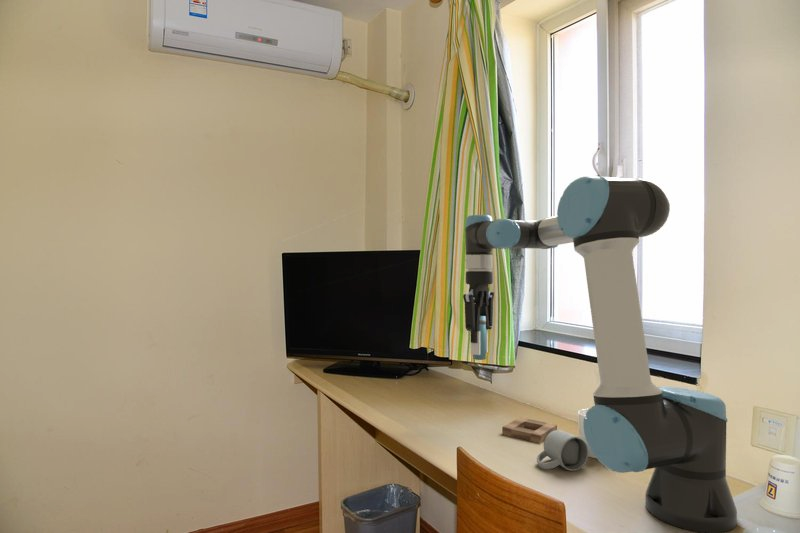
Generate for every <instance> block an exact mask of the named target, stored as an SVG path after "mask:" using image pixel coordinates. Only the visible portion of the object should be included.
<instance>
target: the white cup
mask: <svg viewBox="0 0 800 533" xmlns="http://www.w3.org/2000/svg"><path fill="white" fill-rule="evenodd" d="M589 409H590V408H582V409H580V410H578V411H577V416H578V417H577V419H578V420H577V421H578V422H577V423H578V437H580V438H582V439H583V440H584V441H585V442H586V444H587V447H588V458H593V459H597V457H596V456H595V455H594V454H593V453H592V451H591V449H590V448H589V445H588V443H587V441H586V438H585V434H584V428H583V422H584V417H585V416H586V412H587V411H588V410H589Z"/></svg>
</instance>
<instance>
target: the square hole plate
mask: <svg viewBox="0 0 800 533" xmlns="http://www.w3.org/2000/svg"><path fill="white" fill-rule="evenodd" d="M555 430H558V425H557V424H555V423H550V422H545V421H540V420H536V419H530V418H526V417H521V416H519V417H518V418H516V419H515V420H512V421H511V422H508V423H507V424H505V425H503V426H502V430H501V431H502V432H501V433H502V436H503V435H504V436H508V437H512V438H517V439H521V440H525V441H531V442H534V443H537V444H541V443H542V442H543V443H544V440H545V438H546V436H547V435H548V434H549V433H550V432H552V431H555Z"/></svg>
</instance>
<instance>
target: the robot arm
mask: <svg viewBox="0 0 800 533" xmlns="http://www.w3.org/2000/svg"><path fill="white" fill-rule="evenodd" d="M670 205H671V204H670V200H669V197H668V195H667V194H666V192H665V190H664V189H663V188H661V186H660V185H658V184H657V183H655V182H653V181H651V180H647V179H643V178H626V177H613V176H611V177H610V176H603V175H594V176H582V177H578V178H576V179H574V180H573V181H571V183H569V184H568V186H566V187H565V189H564V191H563V193H562V195H561V197H560V199H559V201H558V205H557V212H556V215H554V216H549V217H546V218H542V219H538V220H516V219H515V220H513V219H511V218H497V219H495V220H493V217H492V216H491V215H488V214H475V215H474V214H472V215H468V216H467V217H466V219H465V228H464V233H465V236H464V238H465V242H464V243H465V269H467V271H465V284H467V285H469V289H468V293H467V294H466V293H464V294H463V296H462V298H463V303H464V319H465V320H464V323H465V324H464V326H465V329H466V331H467V332H470V333H469V334H470V355H473V354H474V355H480V331H478V330H479V319H480V316H486V354H488V353H489V330H491V329H492V327H493V320H494V319H493V317H494V315H493V314H494V313H493V312H494V310H493V309H494V298H495V292H493V291H490V287H489V285H492V284H493V281H494V280H493V278H494V277H493V276H494V275H493V271H492V269H493V267H494V266H493V249H499V250H500V249H501V250H502V249H503V250H506V249H512V250H513V249H541V250H549V249H556V248H558V247H559V246H560V245H566V244H571V243H573V249H574V251H575V253H577V254H579V255H580V256H581V257H582V258H583V260H584V269H585V278H586V283H587V292H588V300H589V306H590V314H591V315H590V316H591V322H592V329H593V330H592V331H593V338H594V345H595V352H596V358H597V367H598V375H599V382H600V383H599V386H598V387H597V388H596V389H595V391H594V392H593V393H592V395H593V402H594V403H593V404H594V405H592V406H591V408H588V409H589V410H588V411H587V412H586V416H585V417H584V422H583V428H584V434H585V438H586V441H587V443H588V445H589V448H590V449H591V451H592V453H593V454H594V455H595V456H596V457H597V458H596V459H597V460H598V462H599V463H601V465H603V466H604V467H605V468H606V469H608V470H610V471H613V472H614V473H615V472H616V473H618V474H621V473H622V474H626V473H640V472H643V471H646V470H651V469H653V472H652V475H651V477H650V479H649V482H648V486H647V489H646V490H645V495H644V496H645V501H644V503H645V507H646V509H647V510H648V512H649V513H650V514H651V515H653V516H654V517H656V518H657V519H658V520H660V521H662V522H664V523H667V524H669V525H671V526H673V527H677V528H680V529H683V530H688V531H693V532H698V533H724V532H728V531H731V530H734V528H736V526H737V525H738V523H737V522H738V510H737V507H736V505H735V502H734V498H733V496H732V495H733V494H732V492H731V490H730V487H729V484H728V481H727V474H726V473H727V472H726V471H727V422H728V418H727V408H726V404H725V402H724V401H723V399H721V398H720V397H718V396H716V395H713V394H711V393H708V392H704V391H699V390H694V389H688V388H683V387H676V386H675V387H674V386H664V385H663V386H656V385H655V384H654V383H653V382H652V379H651V378H652V377H651V373H650V365H649V364H650V363H649V359H648V357H649V356H648V351H647V346H646V345H647V344H646V338H645V332H644V325H643V317H642V311H641V305H640V298H639V296H640V295H639V291H638V285H637V277H636V271H635V263H634V258H633V251H634V249H635V247H636V246H637V245H638V244H639V243H640V238H643V237H648V236H651V235H653V234H655V233H656V232H658V231H659V230H661V229H662V227H664V225H665V224H666V222H667V221H668V218H669V217H670V216H669V215H670Z"/></svg>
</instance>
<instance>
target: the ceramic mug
mask: <svg viewBox="0 0 800 533" xmlns="http://www.w3.org/2000/svg"><path fill="white" fill-rule="evenodd" d="M547 457H548V458H549V459H550V461H548V462H542V460H544V459H545V458H547ZM588 458H589V457H588V447H587V444H586V442H585V441H584V440H583V439H582V438H580V437H579V435H578V436H577V435H576V434H575V435H574V434H572V433H569V432H567V431H564V430H559V429H557V430H555V431H552V432H550V433H549V434H548V435H547V436H546V438H545V440H544V441H543V450H542V452H540V453H539V454H538V455H537V456H536V463H537V464H538V467H540V468H541V469H543V470H551V469H554V468H556V467H559V466H561V467H562V468H564V469H565V470H567V471H570V472H575V471H578V470H581V469H582V468H583V467H584V466H585V465H586V463H587V461H588Z"/></svg>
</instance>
